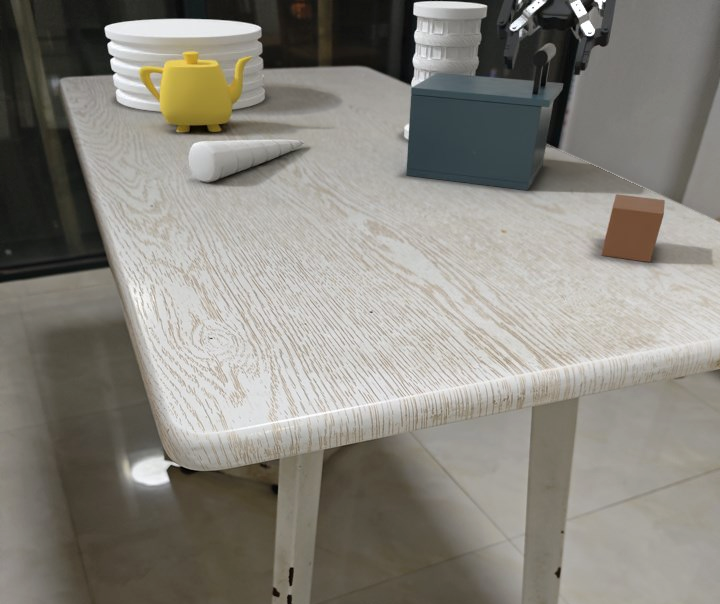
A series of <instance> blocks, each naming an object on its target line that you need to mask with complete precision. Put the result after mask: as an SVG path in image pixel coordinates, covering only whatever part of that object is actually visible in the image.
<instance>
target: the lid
mask: <svg viewBox="0 0 720 604" xmlns="http://www.w3.org/2000/svg"><path fill="white" fill-rule="evenodd" d="M556 53H557V47H556V45H555V44H554V43H551V42H548V43H546V44H544V45H543V46H542V47H541V48H539V49H537V51H536V52H535V53H534V54H533V56H532V62H533V65H534V66H535V73H534V80H529V79H528V80H527V79H516V78H506V77H505V78H503V77H493V76H492V77H491V76H481V75H480V76H479V75H475V76H469V75H457V74H445V73H436V74H435V75H433V76H431V77H429V78H428V79H426V80H424V81H422V82H421V83H419V84H417V85H415V86H414V87H412V86H411V89H410V96H411V95H422V96H433V97H444V98H454V99H465V100H476V101H487V102H498V103H508V104H519V105H530V106H541V107H549V106H550V105H551V104H552V102H553V103H554V101H555V100H556V99H557V98H558V96H559V95H560V93H561V92H562V91H563V87H564V83H563V82H553V81H551V82H550V81H548V75H549V70H550V63H551V60H552V59H553V58H554V57H555V56H556Z"/></svg>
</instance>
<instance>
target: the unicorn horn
mask: <svg viewBox="0 0 720 604" xmlns="http://www.w3.org/2000/svg"><path fill="white" fill-rule="evenodd" d="M305 143H306V142H305V141H304V140H297V139H237V140H233V139H232V140H204V141H203V140H202V141H198V142H194V143H193V144H192V146H191V147H190V149H189V152H188V157H187V158H188V166H189V169H190V172H191V173H192V174H193V176H194V177H195V178H197V180H199V181H201V182H203V183H211V182H215V181H217V180H219V179H223V178H226V177H228V176H230V175H234V174H237V173H239V172H241V171H244V170H247V169H250V168H252V167H255V166H258V165H261V164H264V163H265V162H268V161H271V160H273V159H276V158H278V157H281V156H283V155H285V154H288V153H290V152H292V151H294V150H297V149H299V148H301V147H302V146H303V145H305Z"/></svg>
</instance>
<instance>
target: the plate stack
mask: <svg viewBox="0 0 720 604" xmlns="http://www.w3.org/2000/svg"><path fill="white" fill-rule="evenodd" d="M104 33H105V37H106V38H107V39H109V40H110V41H109V42H108V43H107V51H108V54H109V55H110V56H113V57H112V58H110V60H109V62H110V63H109V64H110V67H111V71H113V72H114V74H113V75H112V80H113V85H114V86H115V87H116V88H117V89H116V90H115V97H116V102H118V103H119V104H121V105H123V106H125V107H128V108H132V109H136V110H141V111H148V112H149V111H150V112H157V113H158V112H160V113H162V112H161V109H160V102H159V101H158V100H157V99H156V98H155V97H154V96H153V95H152V93H151V92H150V91H149V90H148V89H147V88H146V86H145V85H144V84H143V82H142V80H141V78H140V75H139V69H140V68H141V67H144V66H154V67H160V68H164V65H165V63H166V62H167V61H170V60H185V58H184V56H183V53H184V52H189V51H192V52H198V53H199V56H198V60H214V61H217V62H218V63H219V65H220V67H221V70H222V72H223V74H224V77H225V79H226V82H227V84H228V86H229V85H231V84H232V82H233V80H234V76H235V67H236V63H237V62H238V60H239V59H241V58H245V57H249V56H253V57H252V58H251V59H250V60H249V61H248V62H247V63H246V65H245V67H244V70H243V86H242V93H241V95H240V98H239V99H238V101H237V102H235V103H234V104H233V105H232V111H233V110H234V111H235V110H239V109H244V108H248V107H252V106H256V105H258V104H260V103H262V102H264V100H265V99H266V91H265V88H264V87H263V86H264V85H265V75H264V73H263V72H262V70H264V59H263V58H262V57H261V56H260V55H262V54H263V44H262V42H261V41H259V39H260V38H262V35H263V34H262V27H261V26H259V25H257V24H253V23H249V22H243V21H237V20H225V19H224V20H222V19H205V18H204V19H202V18H157V19H141V20H139V19H138V20H130V21H129V20H128V21H121V22H116V23H111V24H108V25H105V27H104ZM161 78H162V74H161V73H151V74H150V79H151V81H152V83H153V85H154V87H155V89H156V90H157V91H158V93H159V94H160V83H161Z"/></svg>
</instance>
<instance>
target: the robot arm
mask: <svg viewBox="0 0 720 604" xmlns="http://www.w3.org/2000/svg"><path fill="white" fill-rule="evenodd" d="M616 3H617V0H503V3H502V5H501V8H500V11H499V15H498V18H497V20H496V29H497V38H498V39H499V40H506V42H505V47H504V50H503V63H504V65H506V69H507V70H514V67H515V64H516V60H517V56H518V53H519V50H520V49H519V48H520V43H521V41H523V40H524V39H525V38H526V37H528V36H529V37H530V36H532V35H533V34H535V32H536V31H538V30H539V29H540V28H541V30H544V31H550V30H557V31H561V32H567V30H569V29H571V31H572V33H573V35H574V37H575V38H576V40H579V47H578V50H577V54H576V58H575V62H574V67H573V69H574V70H573V75H574V76H580V75H581V71H582V72H585V71H586V69H587V68H588V65H589V60H590V57H591V54H592V50H593V49H594V48H595V47H597V46H600V47H601V48H604V47H607V46H609V43H610V38H611V34H612V33H611V32H612V27H613V22H614V16H615V11H616V5H617V4H616ZM524 4H527V6H526V7H525V8H524V9H523V11H522V13H521V15H520V16H519V17H517V18H516V19H515V20H514V21H513V19H514V16H515V14H516V13H518V12H520V11H519V10H520V9H521V8H522V7H523V6H524ZM594 8H596V9H597V13H598V15H600V18H602V20H601V25H600V27H598V28H595V27H594V25H593V24H592V22H591V21H590V18H589V13H590V12H592V10H593V9H594Z"/></svg>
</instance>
